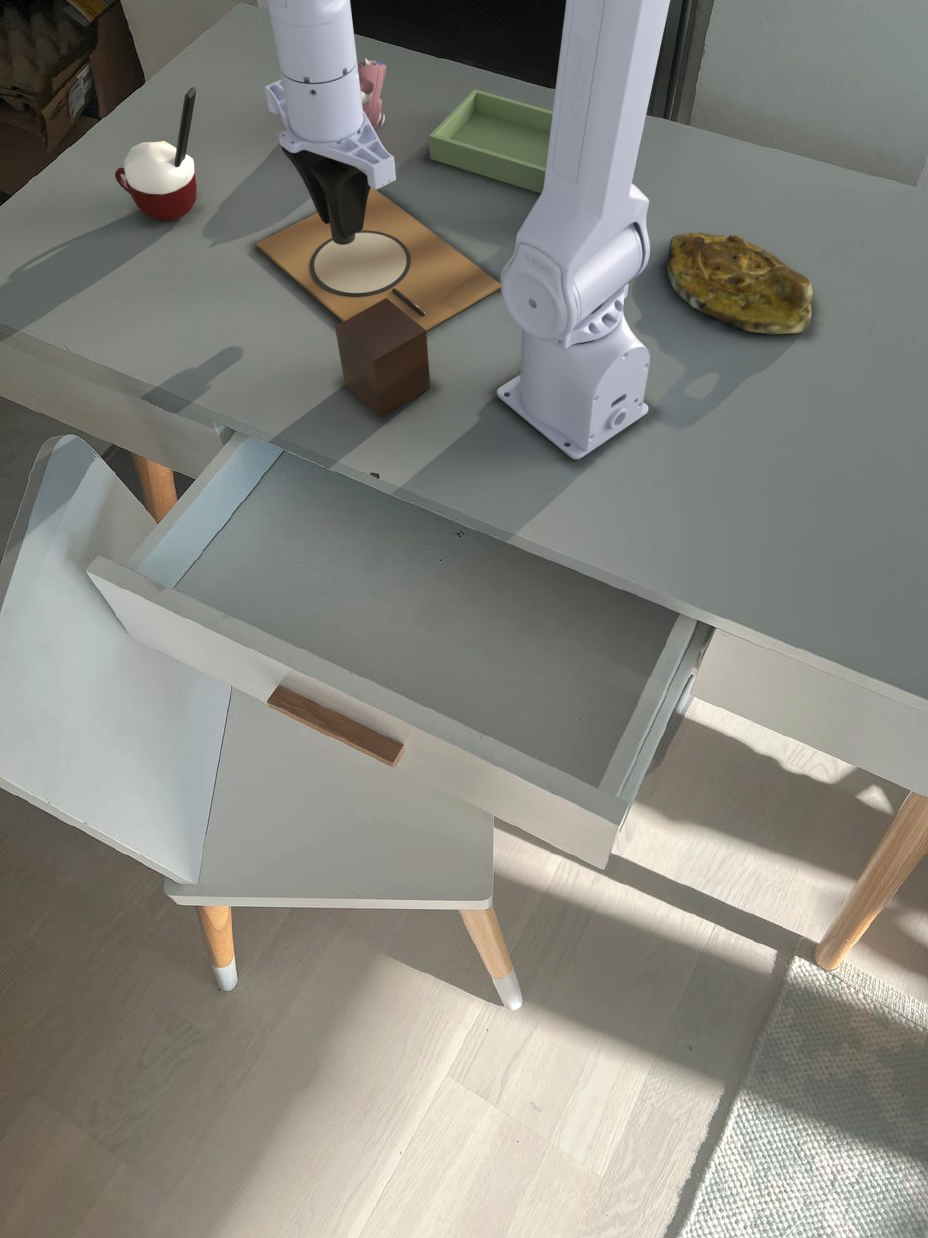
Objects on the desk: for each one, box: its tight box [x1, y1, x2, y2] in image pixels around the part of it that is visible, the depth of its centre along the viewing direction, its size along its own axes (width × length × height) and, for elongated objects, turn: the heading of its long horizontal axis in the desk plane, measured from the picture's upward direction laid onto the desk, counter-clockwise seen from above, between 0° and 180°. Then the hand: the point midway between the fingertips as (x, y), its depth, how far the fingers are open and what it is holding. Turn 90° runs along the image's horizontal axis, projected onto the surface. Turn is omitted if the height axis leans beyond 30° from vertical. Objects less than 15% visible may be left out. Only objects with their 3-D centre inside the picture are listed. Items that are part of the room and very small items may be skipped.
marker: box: [325, 195, 355, 245], centre depth 83 cm, size 2×2×6 cm
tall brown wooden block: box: [334, 298, 431, 418], centre depth 78 cm, size 5×5×6 cm
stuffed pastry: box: [666, 232, 814, 335], centre depth 84 cm, size 9×5×15 cm
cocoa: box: [114, 86, 197, 222], centre depth 89 cm, size 10×6×12 cm, turn 53°
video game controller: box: [357, 57, 387, 130], centre depth 98 cm, size 10×5×7 cm, turn 179°
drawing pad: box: [256, 187, 501, 332], centre depth 89 cm, size 19×13×1 cm
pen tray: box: [428, 88, 553, 194], centre depth 96 cm, size 15×9×2 cm, turn 61°
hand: (342, 224), depth 85 cm, fingers closed on marker, 2 cm apart
